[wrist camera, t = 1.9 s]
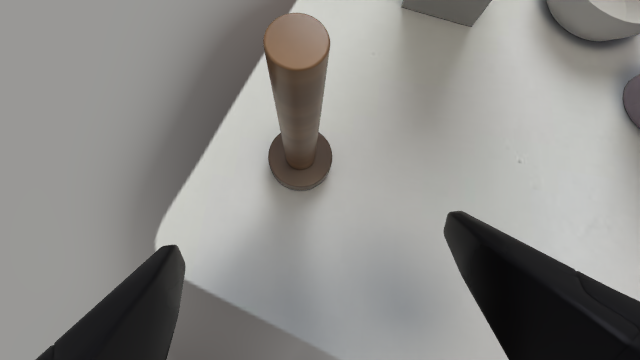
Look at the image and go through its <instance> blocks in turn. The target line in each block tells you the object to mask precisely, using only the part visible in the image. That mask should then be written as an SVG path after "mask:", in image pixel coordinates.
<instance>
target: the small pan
mask: <svg viewBox="0 0 640 360" xmlns="http://www.w3.org/2000/svg"><path fill="white" fill-rule="evenodd" d="M547 4H548V7H549V10H550V12H551V14H552V15H553V17H554V18H555V19H556V21H557V22H558V23H559V24H560V25H561V26H562V27H563V28H565V29H566V30H567V31H569V32H570V33H572V34H574V35H575V36H578V37H580V38H583V39H586V40H590V41H608V40H612V39H620V38H625V37H629V36H633V35H637V34H640V0H547Z"/></svg>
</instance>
